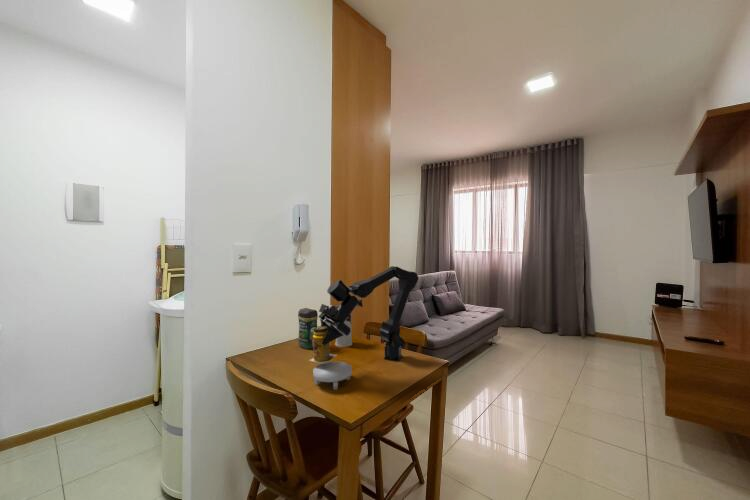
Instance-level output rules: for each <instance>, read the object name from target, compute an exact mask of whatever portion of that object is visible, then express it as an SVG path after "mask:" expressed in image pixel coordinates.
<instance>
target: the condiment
mask: <svg viewBox="0 0 750 500" xmlns="http://www.w3.org/2000/svg"><path fill="white" fill-rule="evenodd" d="M327 334H328V328H327V327H326V326H321V325H320V326H319V325H317V327H315V328H314V335H313V348H312V351H313V357H312V358H311V359H309V360H308V361H310V362H315V363H321V364H323V363H327V362H331V361H332V360H333V359H334V358H336V357H337V356H338V355H337V354H332V353H331V352H330V351H331V350H330V342H329V343H327V344H325V345H323V344H322V342H323V340H324V339H325V337H326V336H327Z"/></svg>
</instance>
